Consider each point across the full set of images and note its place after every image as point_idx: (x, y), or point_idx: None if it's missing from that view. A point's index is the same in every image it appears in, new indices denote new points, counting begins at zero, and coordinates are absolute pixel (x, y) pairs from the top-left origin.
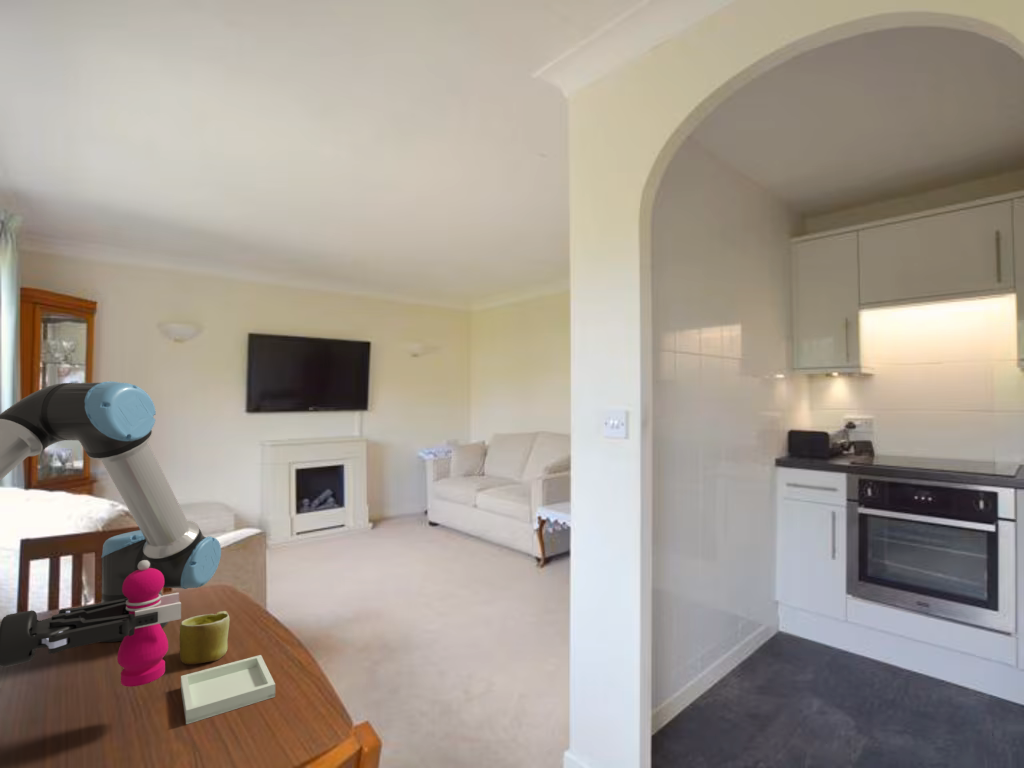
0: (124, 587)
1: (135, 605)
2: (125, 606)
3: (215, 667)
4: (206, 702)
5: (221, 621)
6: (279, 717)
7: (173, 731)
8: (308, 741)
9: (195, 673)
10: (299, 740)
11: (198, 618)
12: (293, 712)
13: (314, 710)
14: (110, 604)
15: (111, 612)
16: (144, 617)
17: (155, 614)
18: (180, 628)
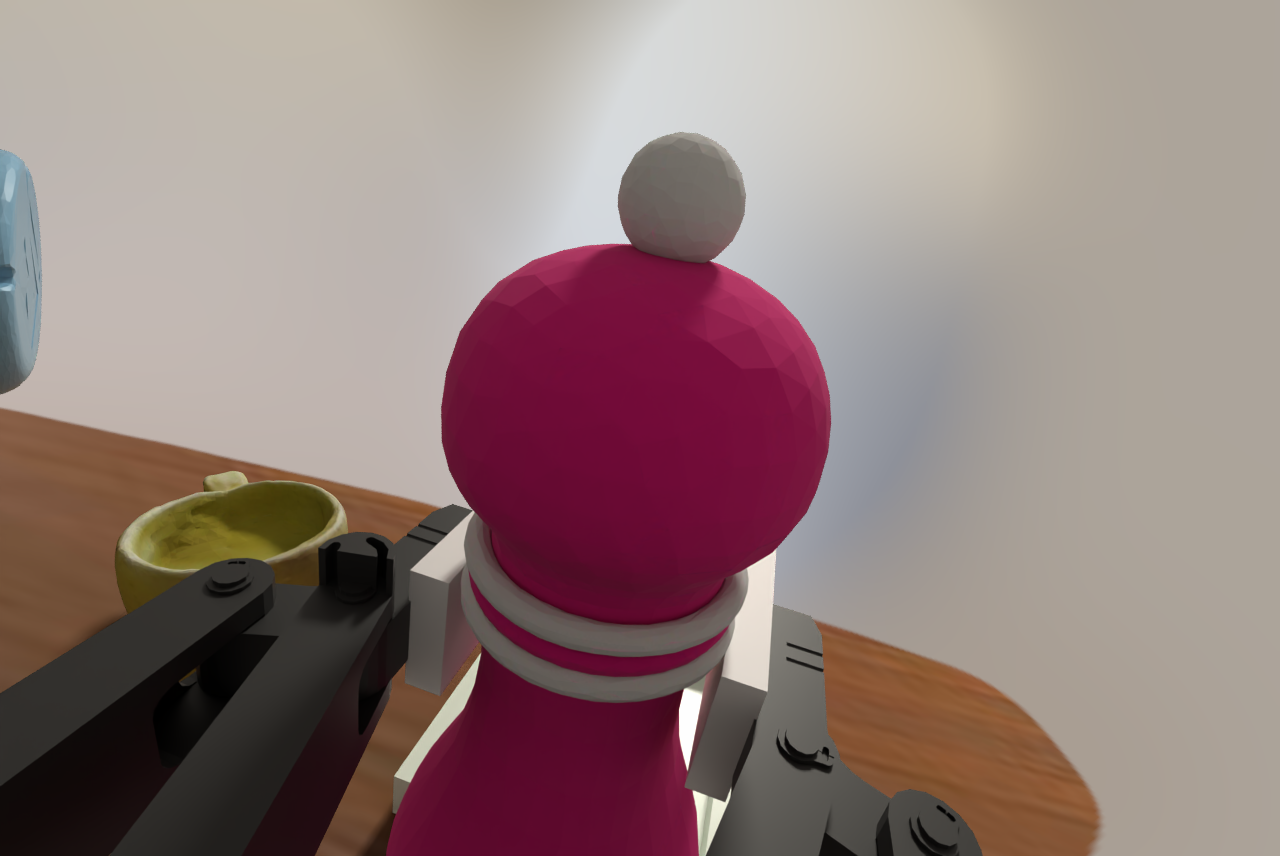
0: (697, 487)
1: (719, 630)
2: (369, 656)
3: (469, 677)
4: (716, 823)
5: (344, 514)
6: (863, 732)
7: None
8: (1025, 755)
9: (439, 735)
10: (1012, 765)
11: (157, 522)
12: (857, 701)
13: (877, 672)
14: (118, 708)
15: (302, 796)
16: (823, 691)
17: (814, 630)
18: (153, 588)
